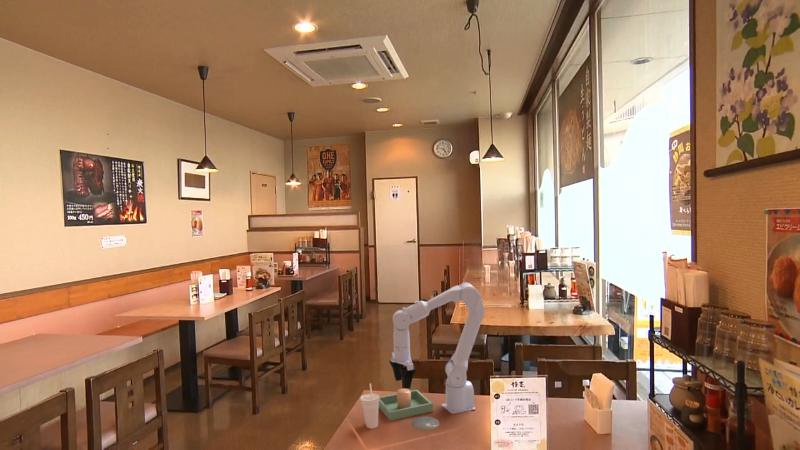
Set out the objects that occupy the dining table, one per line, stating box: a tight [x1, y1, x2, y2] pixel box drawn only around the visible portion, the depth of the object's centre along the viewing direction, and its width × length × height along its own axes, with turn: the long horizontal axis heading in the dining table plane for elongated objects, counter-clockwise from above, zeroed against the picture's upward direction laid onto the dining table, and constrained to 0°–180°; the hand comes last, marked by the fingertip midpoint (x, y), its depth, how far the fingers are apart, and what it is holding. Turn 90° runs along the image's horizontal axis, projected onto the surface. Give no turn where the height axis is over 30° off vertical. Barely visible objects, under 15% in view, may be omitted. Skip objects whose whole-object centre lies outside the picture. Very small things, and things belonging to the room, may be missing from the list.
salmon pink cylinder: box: [396, 387, 412, 410], centre depth 152 cm, size 5×5×6 cm
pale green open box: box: [379, 389, 434, 422], centre depth 152 cm, size 16×13×3 cm
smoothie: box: [359, 382, 381, 429], centre depth 140 cm, size 6×6×14 cm
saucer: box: [411, 416, 440, 431], centre depth 141 cm, size 9×9×1 cm
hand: (402, 384), depth 152 cm, fingers open, 7 cm apart
